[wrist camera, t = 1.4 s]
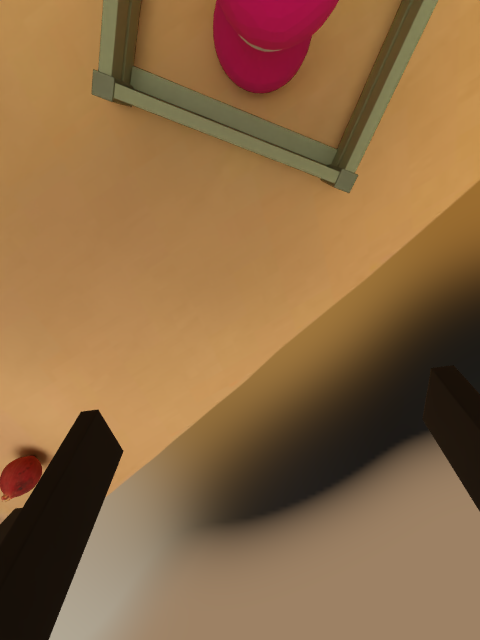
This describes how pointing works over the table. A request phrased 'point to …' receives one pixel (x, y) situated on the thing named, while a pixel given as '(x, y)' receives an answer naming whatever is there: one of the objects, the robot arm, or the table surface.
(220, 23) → the pepper mill
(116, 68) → the crate
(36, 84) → the table surface
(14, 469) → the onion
